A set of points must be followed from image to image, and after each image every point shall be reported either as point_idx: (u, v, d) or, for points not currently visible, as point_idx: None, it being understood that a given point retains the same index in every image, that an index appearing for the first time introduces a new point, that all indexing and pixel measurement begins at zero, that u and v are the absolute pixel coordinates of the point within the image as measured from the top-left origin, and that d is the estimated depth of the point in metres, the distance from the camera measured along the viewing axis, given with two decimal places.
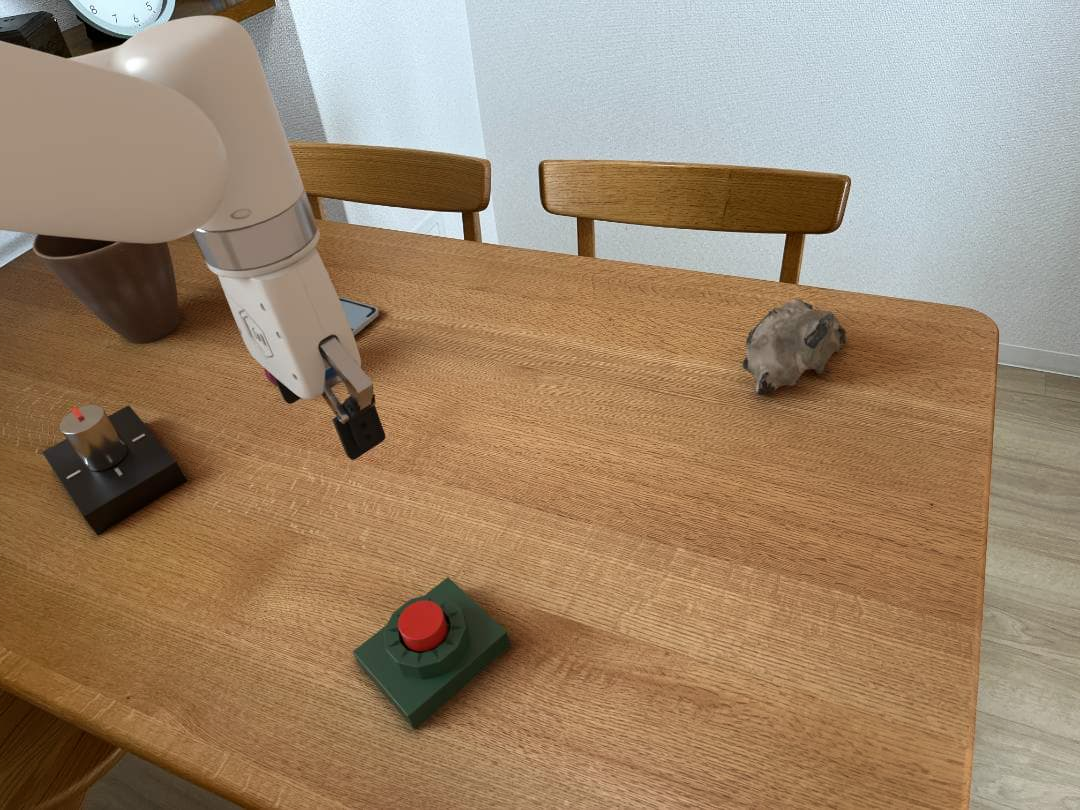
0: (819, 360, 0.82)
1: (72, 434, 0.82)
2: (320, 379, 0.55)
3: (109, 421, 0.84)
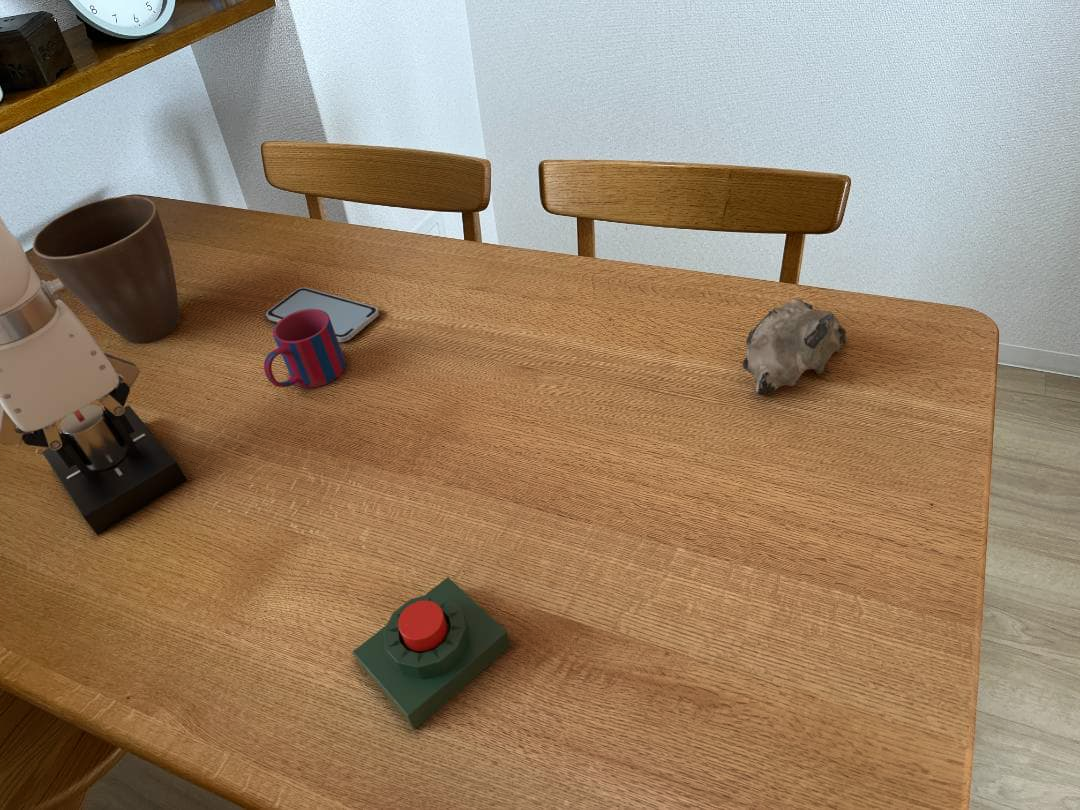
0: (819, 360, 0.82)
1: (72, 434, 0.82)
2: None
3: (109, 421, 0.84)
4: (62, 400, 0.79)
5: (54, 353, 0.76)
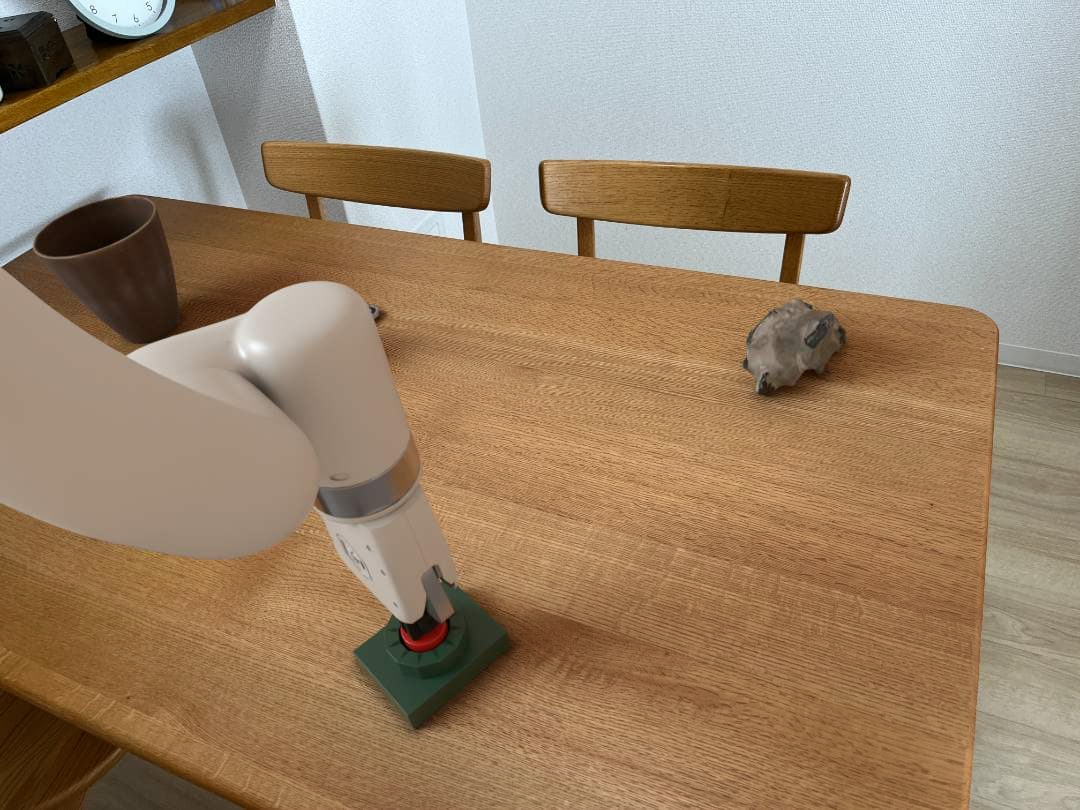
0: (819, 360, 0.82)
1: None
2: None
3: None
4: None
5: None
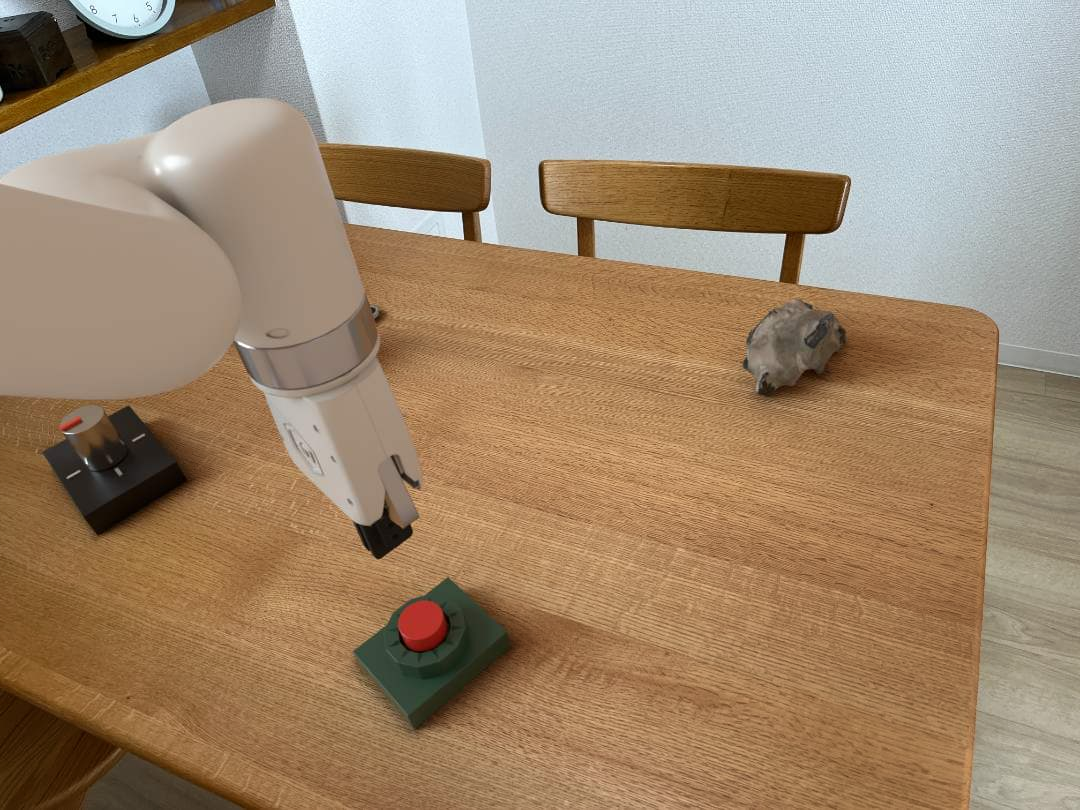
0: (819, 360, 0.82)
1: (102, 417, 0.83)
2: None
3: None
4: None
5: None
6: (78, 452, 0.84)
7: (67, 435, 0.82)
